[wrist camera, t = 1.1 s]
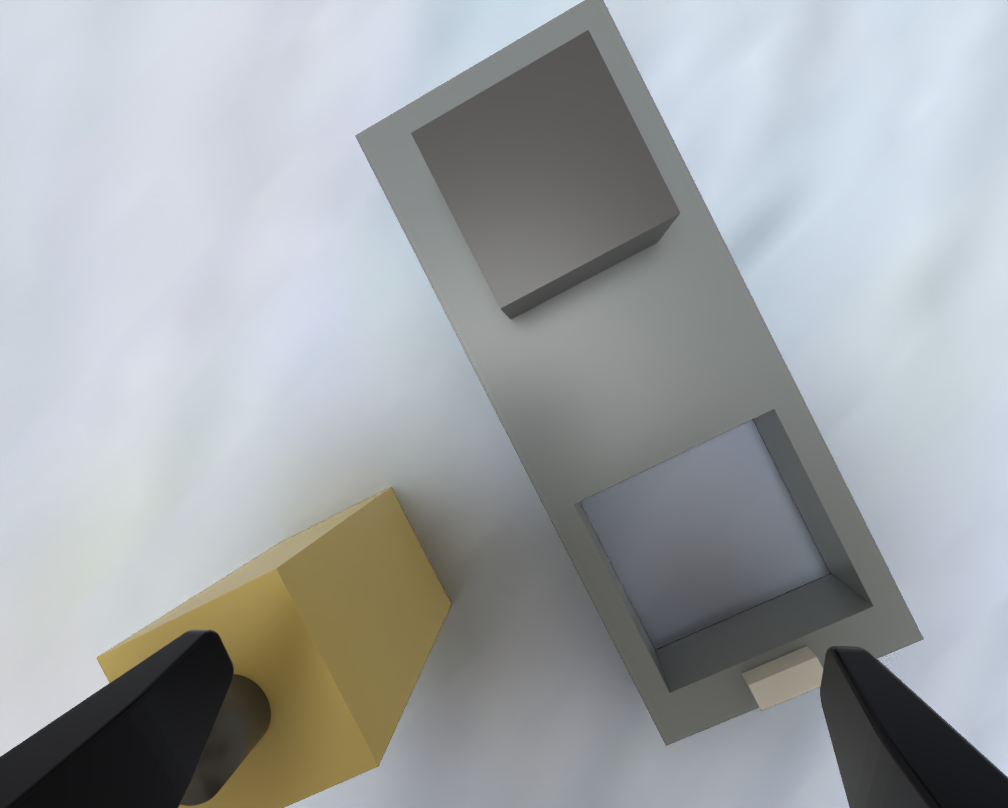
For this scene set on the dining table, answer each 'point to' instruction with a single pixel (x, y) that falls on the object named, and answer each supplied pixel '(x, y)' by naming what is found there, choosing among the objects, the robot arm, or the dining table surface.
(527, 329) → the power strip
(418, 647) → the plug
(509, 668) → the dining table surface
